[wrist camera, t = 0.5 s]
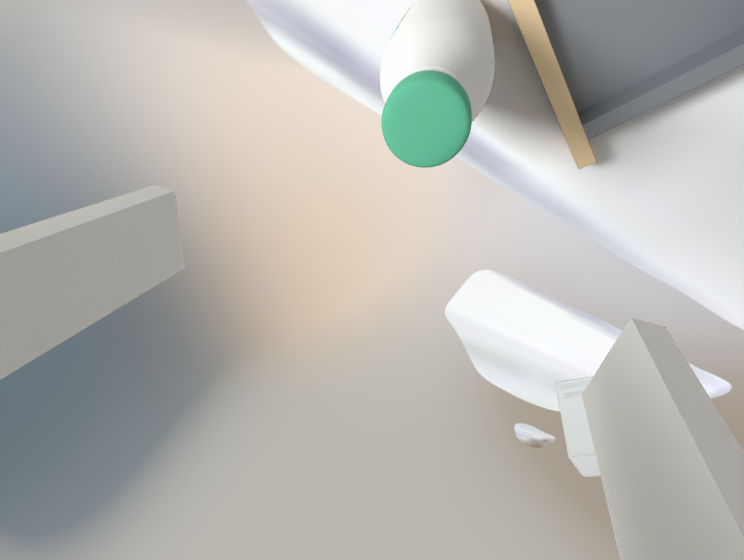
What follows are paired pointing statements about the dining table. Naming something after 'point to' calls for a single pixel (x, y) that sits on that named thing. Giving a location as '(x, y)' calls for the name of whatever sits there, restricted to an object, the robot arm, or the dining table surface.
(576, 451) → the supplement box
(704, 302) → the dining table surface
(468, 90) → the milk bottle
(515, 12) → the tray
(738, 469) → the robot arm
